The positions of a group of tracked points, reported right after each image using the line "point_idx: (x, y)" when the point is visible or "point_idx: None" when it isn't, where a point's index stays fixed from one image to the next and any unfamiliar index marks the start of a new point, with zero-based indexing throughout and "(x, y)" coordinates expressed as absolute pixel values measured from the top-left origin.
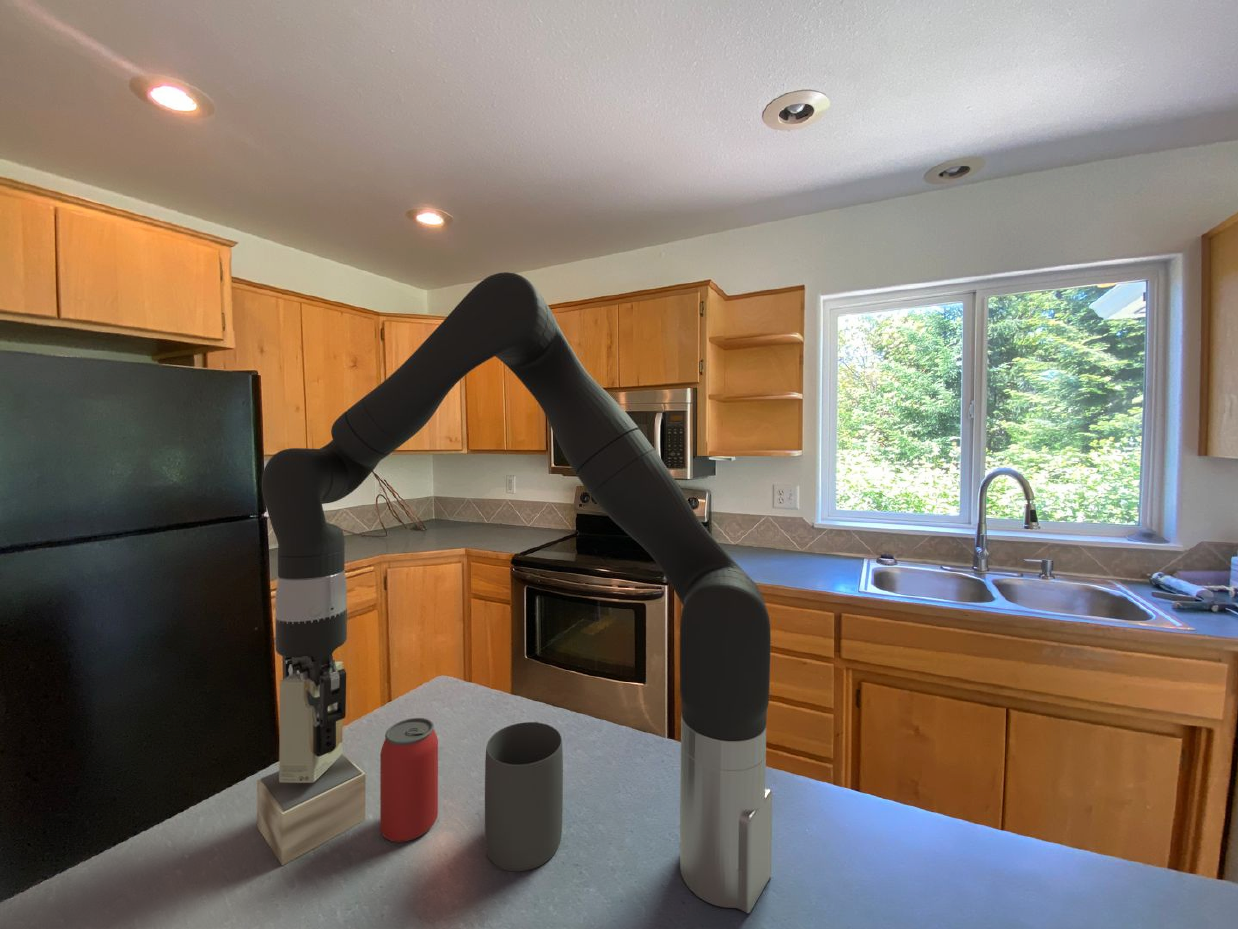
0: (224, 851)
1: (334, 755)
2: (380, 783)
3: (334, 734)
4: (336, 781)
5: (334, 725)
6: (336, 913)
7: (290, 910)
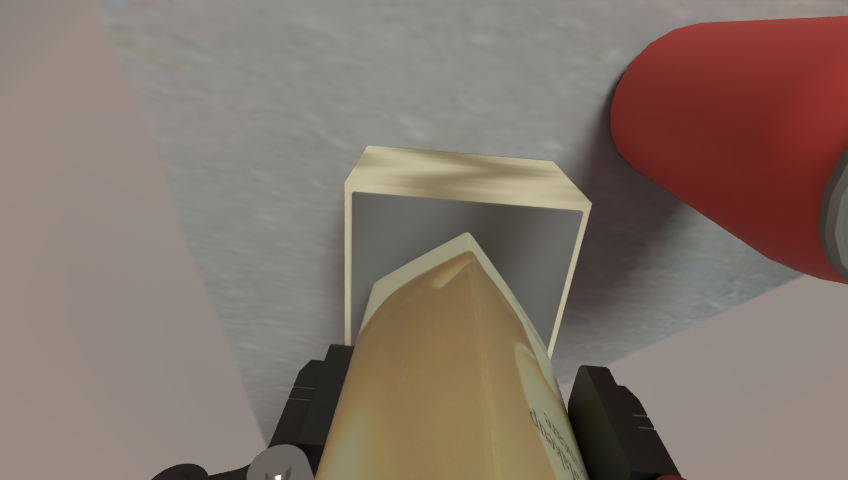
0: None
1: (499, 282)
2: (698, 211)
3: (658, 436)
4: (551, 276)
5: (679, 475)
6: (713, 307)
7: (629, 341)
